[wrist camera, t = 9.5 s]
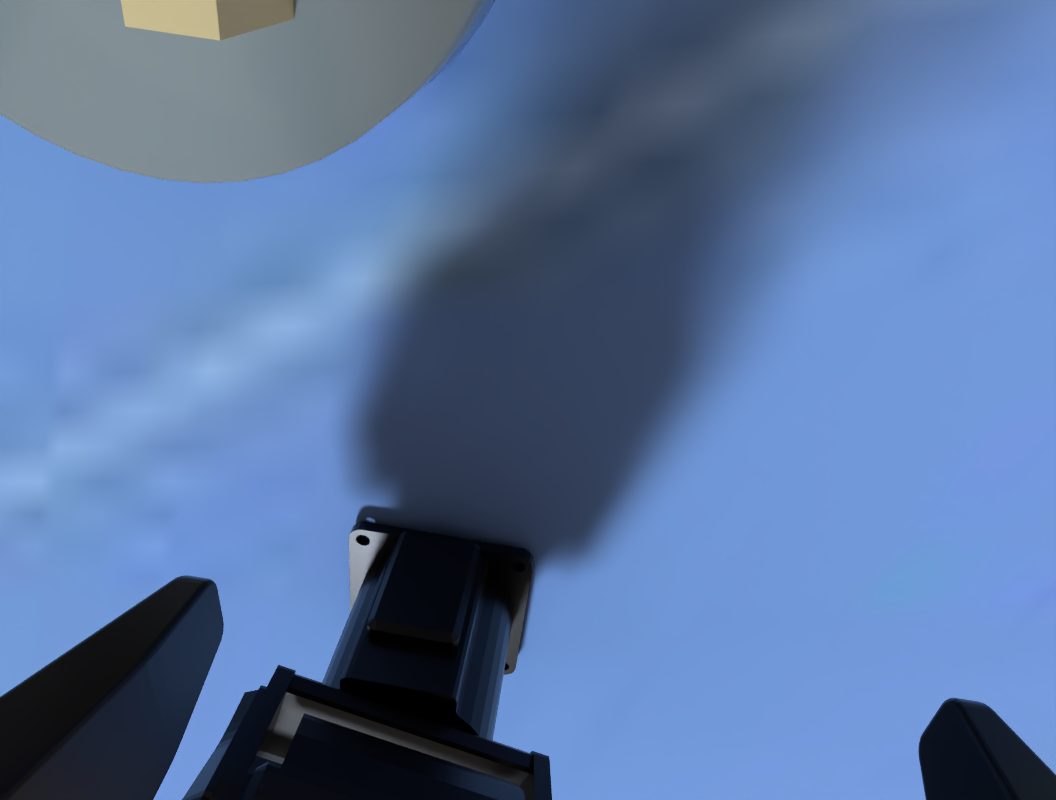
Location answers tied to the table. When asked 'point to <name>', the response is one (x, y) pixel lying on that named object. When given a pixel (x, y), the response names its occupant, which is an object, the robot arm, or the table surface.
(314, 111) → the blue-grey bowl
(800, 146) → the table surface
